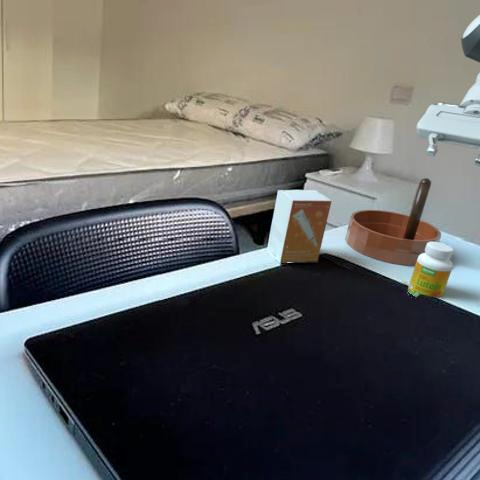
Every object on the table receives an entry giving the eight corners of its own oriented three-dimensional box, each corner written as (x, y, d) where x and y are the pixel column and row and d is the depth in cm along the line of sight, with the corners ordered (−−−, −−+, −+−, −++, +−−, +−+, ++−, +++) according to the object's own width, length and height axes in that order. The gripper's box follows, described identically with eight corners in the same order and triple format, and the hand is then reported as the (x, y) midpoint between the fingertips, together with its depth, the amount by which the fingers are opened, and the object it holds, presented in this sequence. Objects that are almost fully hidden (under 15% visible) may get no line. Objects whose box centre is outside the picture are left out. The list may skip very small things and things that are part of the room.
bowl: (444, 255, 105) (453, 229, 103) (412, 277, 94) (421, 248, 92) (367, 229, 116) (373, 204, 114) (329, 245, 105) (336, 219, 103)
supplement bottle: (407, 299, 85) (423, 248, 82) (406, 286, 90) (421, 237, 86) (442, 308, 84) (460, 255, 80) (438, 294, 88) (456, 244, 84)
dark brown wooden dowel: (422, 254, 103) (445, 180, 96) (412, 260, 99) (436, 183, 93) (397, 245, 106) (418, 173, 100) (386, 251, 103) (407, 176, 96)
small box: (279, 265, 94) (292, 200, 89) (265, 251, 100) (276, 189, 95) (318, 264, 96) (332, 200, 91) (302, 250, 102) (315, 189, 96)
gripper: (431, 91, 110) (401, 139, 108) (540, 105, 97) (510, 160, 94) (433, 111, 115) (404, 157, 112) (537, 127, 102) (508, 180, 99)
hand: (453, 159), depth 103 cm, fingers open, 8 cm apart
